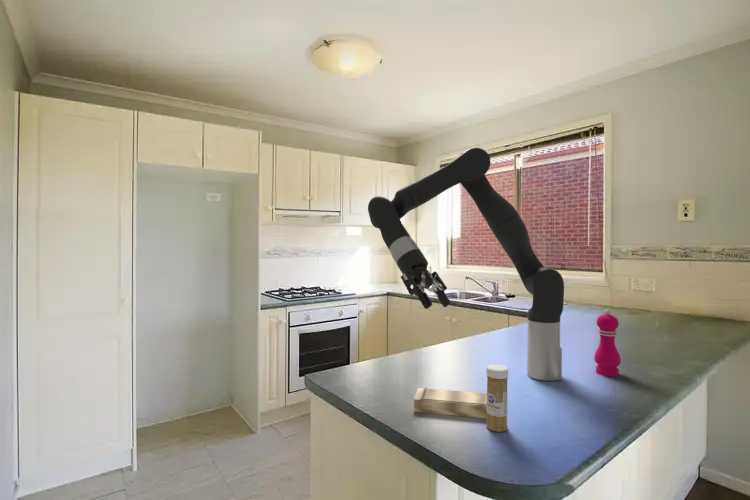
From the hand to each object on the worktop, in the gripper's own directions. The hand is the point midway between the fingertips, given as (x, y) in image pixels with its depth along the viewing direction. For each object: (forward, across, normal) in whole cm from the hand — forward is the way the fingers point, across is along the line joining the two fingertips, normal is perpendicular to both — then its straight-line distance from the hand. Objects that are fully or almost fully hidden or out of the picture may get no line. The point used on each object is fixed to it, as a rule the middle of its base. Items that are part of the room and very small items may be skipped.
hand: (438, 306), depth 103 cm
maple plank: (+22, +1, +12) cm, 25 cm away
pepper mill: (+33, +56, -7) cm, 66 cm away
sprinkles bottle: (+30, -2, +2) cm, 31 cm away
